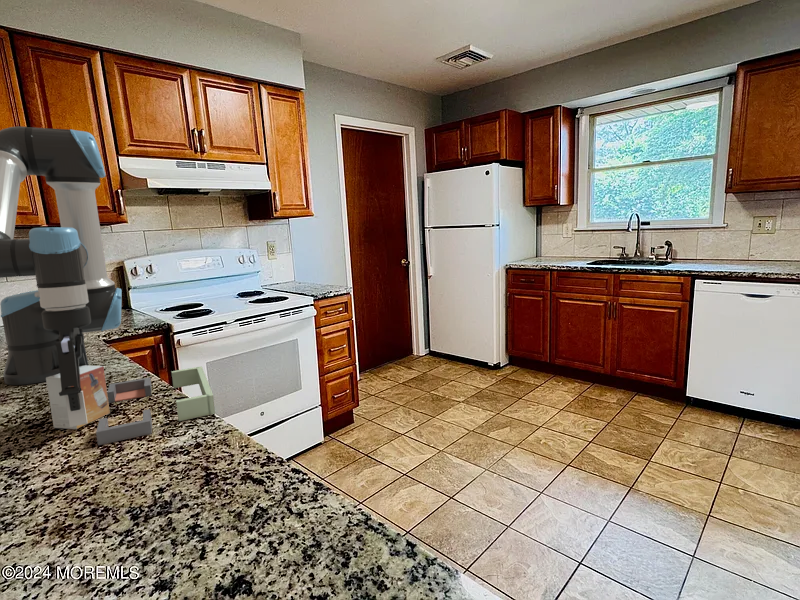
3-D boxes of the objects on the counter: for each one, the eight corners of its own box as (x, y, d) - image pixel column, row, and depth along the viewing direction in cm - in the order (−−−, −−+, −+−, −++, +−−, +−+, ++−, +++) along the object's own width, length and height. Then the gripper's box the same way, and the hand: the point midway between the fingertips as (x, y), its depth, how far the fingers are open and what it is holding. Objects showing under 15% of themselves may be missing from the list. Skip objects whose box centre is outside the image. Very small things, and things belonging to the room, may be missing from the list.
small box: (76, 430, 84) (68, 378, 83) (52, 428, 85) (44, 377, 84) (111, 413, 92) (104, 365, 90) (89, 411, 93) (82, 364, 91)
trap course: (111, 394, 103) (108, 378, 103) (202, 377, 113) (200, 363, 112) (98, 445, 78) (94, 424, 77) (217, 418, 87) (215, 400, 87)
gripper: (52, 302, 93) (68, 401, 96) (26, 318, 74) (48, 442, 77) (94, 298, 96) (108, 394, 100) (81, 313, 77) (99, 431, 81)
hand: (82, 415), depth 89 cm, fingers closed on small box, 9 cm apart
